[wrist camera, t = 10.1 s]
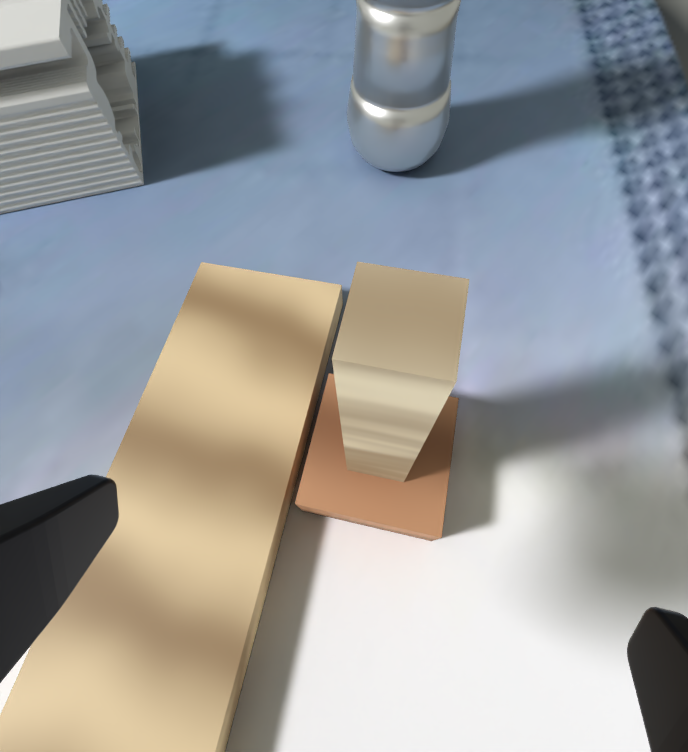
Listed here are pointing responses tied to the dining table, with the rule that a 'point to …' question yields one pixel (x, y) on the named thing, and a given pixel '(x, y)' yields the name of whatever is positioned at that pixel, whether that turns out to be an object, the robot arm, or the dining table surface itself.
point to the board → (186, 529)
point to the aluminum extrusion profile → (65, 104)
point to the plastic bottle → (401, 80)
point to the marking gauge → (389, 404)
